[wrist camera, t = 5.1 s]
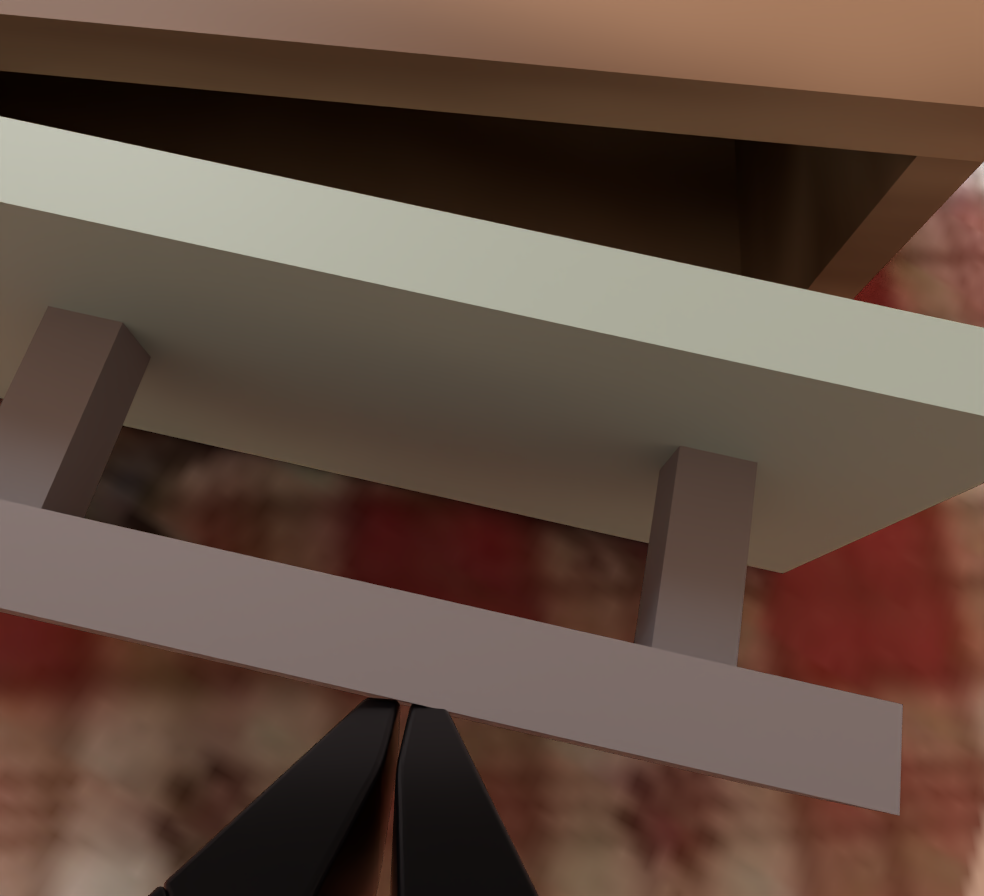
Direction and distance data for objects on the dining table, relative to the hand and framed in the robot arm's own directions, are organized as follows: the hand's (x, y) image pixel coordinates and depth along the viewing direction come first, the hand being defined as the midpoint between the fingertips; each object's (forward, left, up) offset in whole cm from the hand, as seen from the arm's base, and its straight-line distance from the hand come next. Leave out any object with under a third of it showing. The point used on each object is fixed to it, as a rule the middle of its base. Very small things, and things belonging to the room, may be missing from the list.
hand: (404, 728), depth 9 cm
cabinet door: (+5, -3, -7) cm, 9 cm away
